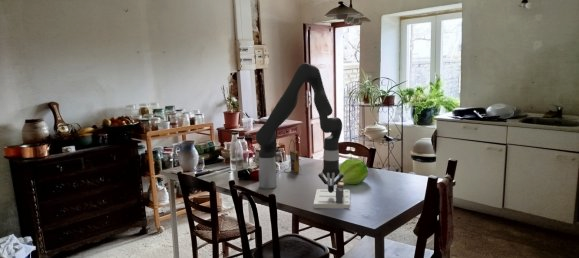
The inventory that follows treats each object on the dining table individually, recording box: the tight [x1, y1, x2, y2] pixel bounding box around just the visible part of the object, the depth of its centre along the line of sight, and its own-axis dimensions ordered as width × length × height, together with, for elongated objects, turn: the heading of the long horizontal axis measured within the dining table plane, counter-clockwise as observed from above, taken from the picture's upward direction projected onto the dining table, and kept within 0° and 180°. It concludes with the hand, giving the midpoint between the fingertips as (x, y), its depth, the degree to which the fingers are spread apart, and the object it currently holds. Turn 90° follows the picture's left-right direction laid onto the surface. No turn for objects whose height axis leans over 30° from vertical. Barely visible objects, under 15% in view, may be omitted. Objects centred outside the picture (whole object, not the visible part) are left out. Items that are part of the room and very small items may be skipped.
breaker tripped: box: [336, 182, 344, 197], centre depth 199 cm, size 3×4×6 cm
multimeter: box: [283, 139, 302, 175], centre depth 252 cm, size 15×10×20 cm
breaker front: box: [335, 187, 342, 203], centre depth 192 cm, size 3×4×6 cm
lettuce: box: [337, 158, 369, 185], centre depth 225 cm, size 15×22×15 cm
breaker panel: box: [313, 188, 351, 209], centre depth 201 cm, size 17×22×2 cm
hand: (330, 192), depth 200 cm, fingers closed
